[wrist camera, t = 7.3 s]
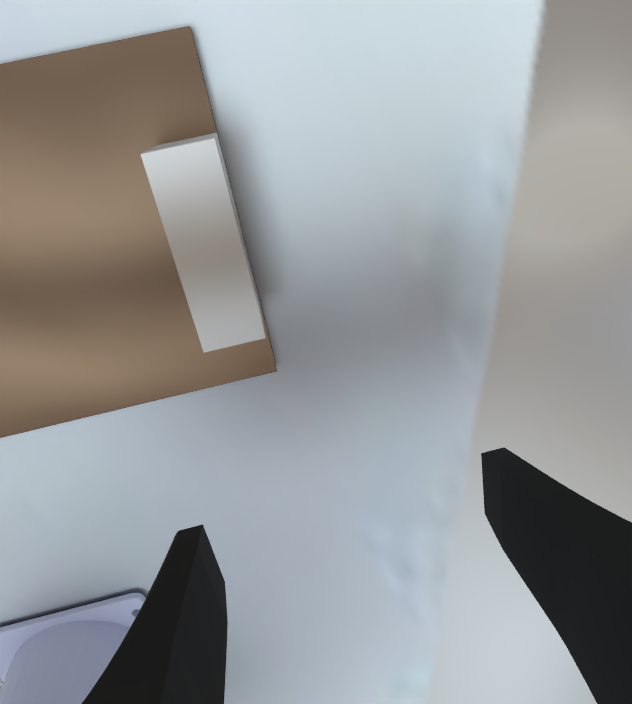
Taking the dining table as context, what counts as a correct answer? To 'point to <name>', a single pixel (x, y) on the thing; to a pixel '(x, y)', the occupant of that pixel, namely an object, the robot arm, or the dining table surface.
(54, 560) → the dining table surface
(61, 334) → the brown wooden flat board
